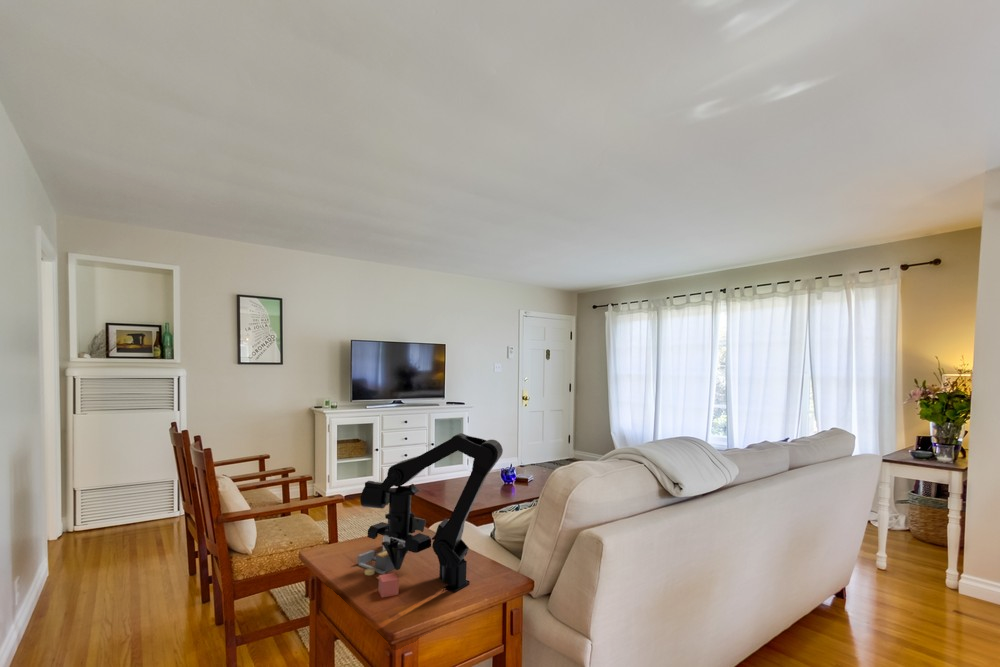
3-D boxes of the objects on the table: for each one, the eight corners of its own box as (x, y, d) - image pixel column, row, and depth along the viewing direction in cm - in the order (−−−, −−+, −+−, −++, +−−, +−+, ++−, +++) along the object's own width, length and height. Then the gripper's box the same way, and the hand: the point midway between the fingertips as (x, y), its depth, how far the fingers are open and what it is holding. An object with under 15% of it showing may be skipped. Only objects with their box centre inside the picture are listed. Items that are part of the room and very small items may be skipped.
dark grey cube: (395, 568, 135) (395, 553, 135) (385, 572, 132) (385, 557, 132) (385, 564, 137) (385, 549, 137) (375, 568, 134) (375, 553, 134)
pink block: (394, 593, 124) (394, 572, 124) (398, 600, 120) (398, 579, 120) (378, 596, 122) (378, 575, 122) (381, 603, 118) (382, 581, 118)
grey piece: (410, 576, 133) (410, 562, 133) (384, 588, 126) (385, 573, 126) (372, 562, 142) (373, 549, 142) (346, 572, 134) (347, 559, 135)
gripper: (446, 509, 134) (444, 568, 133) (397, 497, 145) (395, 551, 144) (417, 519, 125) (414, 583, 124) (367, 505, 135) (365, 564, 135)
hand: (397, 569), depth 132 cm, fingers closed
